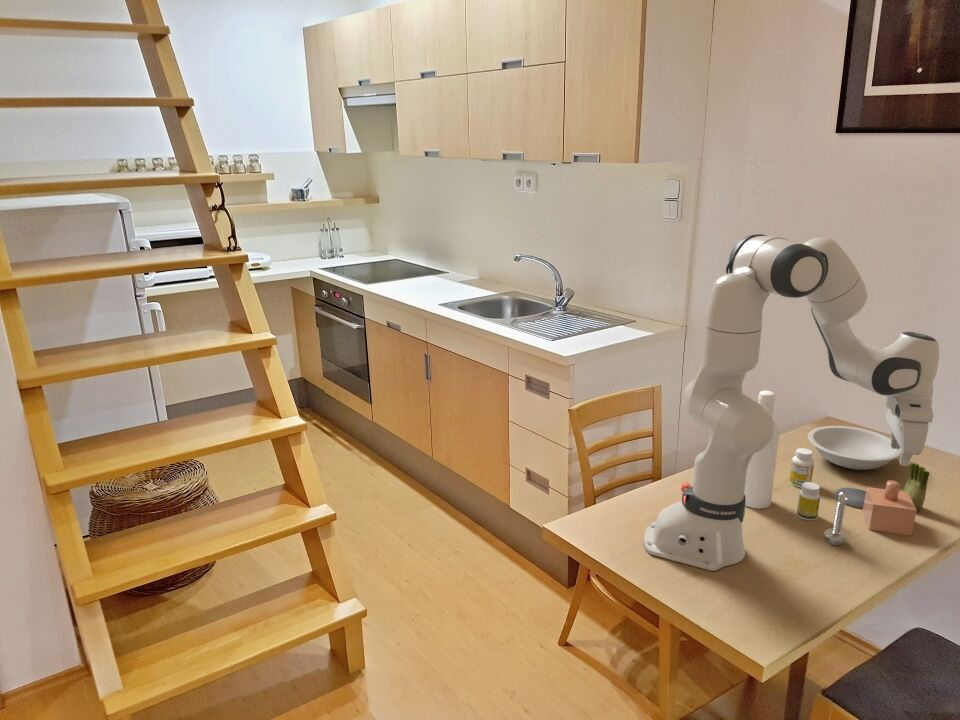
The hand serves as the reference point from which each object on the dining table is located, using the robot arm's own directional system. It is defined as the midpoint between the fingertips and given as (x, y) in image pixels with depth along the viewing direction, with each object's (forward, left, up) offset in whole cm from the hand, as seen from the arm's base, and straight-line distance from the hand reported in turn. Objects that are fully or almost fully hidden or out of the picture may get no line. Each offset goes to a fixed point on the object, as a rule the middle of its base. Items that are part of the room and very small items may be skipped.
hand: (899, 455), depth 168 cm
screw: (-13, -13, -18) cm, 26 cm away
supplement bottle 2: (-18, -2, -18) cm, 26 cm away
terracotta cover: (0, 0, -18) cm, 18 cm away
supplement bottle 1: (-18, +16, -18) cm, 30 cm away
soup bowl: (-3, +34, -18) cm, 39 cm away
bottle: (-30, +2, -18) cm, 35 cm away
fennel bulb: (+7, +10, -18) cm, 22 cm away
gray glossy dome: (-5, +11, -18) cm, 22 cm away
